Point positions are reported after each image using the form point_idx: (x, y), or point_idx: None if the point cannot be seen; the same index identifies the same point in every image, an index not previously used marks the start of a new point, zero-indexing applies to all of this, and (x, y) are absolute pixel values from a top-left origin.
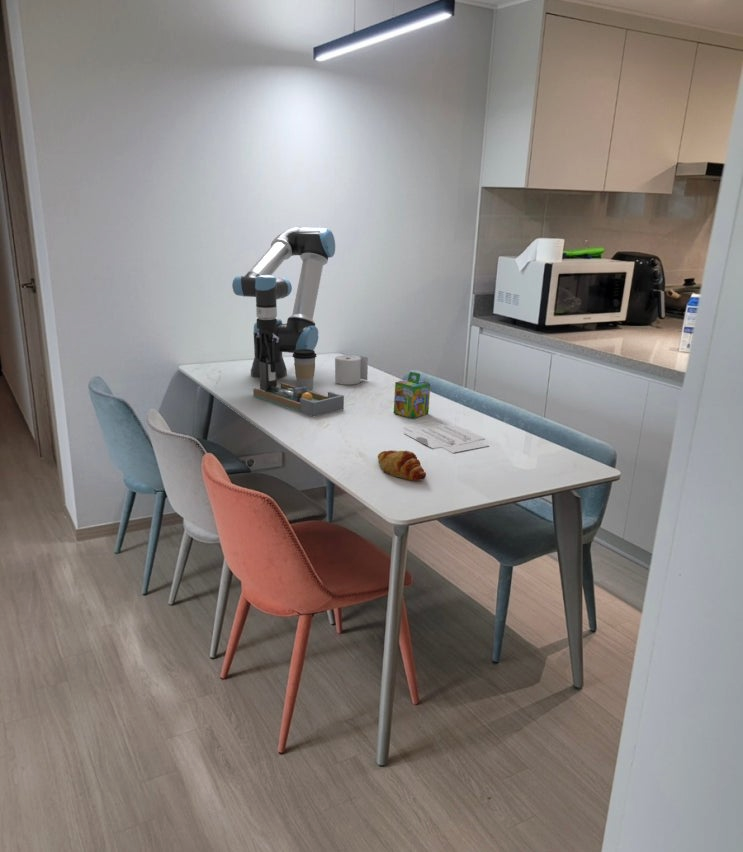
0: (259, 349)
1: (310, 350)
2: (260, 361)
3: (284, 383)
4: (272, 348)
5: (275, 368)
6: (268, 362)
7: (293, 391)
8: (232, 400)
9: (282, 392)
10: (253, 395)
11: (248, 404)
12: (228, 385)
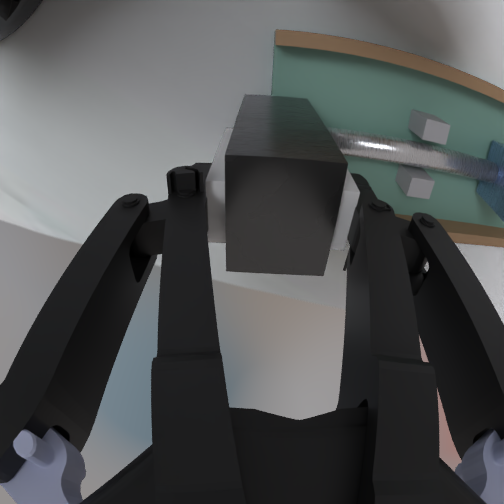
0: (124, 302)
1: None
2: (237, 267)
3: (306, 37)
4: (437, 383)
5: (371, 190)
6: (323, 246)
7: (497, 213)
8: (253, 285)
9: (429, 191)
10: None
11: (336, 279)
12: (54, 184)
